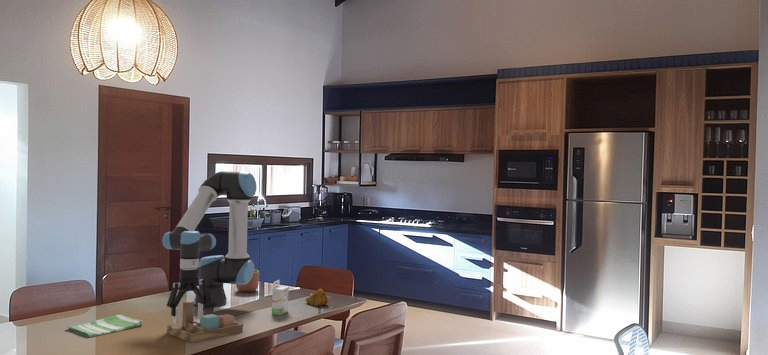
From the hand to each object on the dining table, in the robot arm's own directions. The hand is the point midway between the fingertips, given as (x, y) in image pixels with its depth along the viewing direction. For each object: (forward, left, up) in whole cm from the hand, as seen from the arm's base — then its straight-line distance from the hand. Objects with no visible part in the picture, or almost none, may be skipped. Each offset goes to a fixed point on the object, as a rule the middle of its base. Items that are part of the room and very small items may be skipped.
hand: (187, 321), depth 243 cm
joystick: (+8, 0, -2) cm, 8 cm away
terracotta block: (+16, +7, -2) cm, 18 cm away
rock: (+5, +68, -2) cm, 69 cm away
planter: (-43, +61, -2) cm, 75 cm away
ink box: (+7, +43, -2) cm, 44 cm away
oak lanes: (+13, 0, -2) cm, 13 cm away
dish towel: (-20, -25, -3) cm, 32 cm away
